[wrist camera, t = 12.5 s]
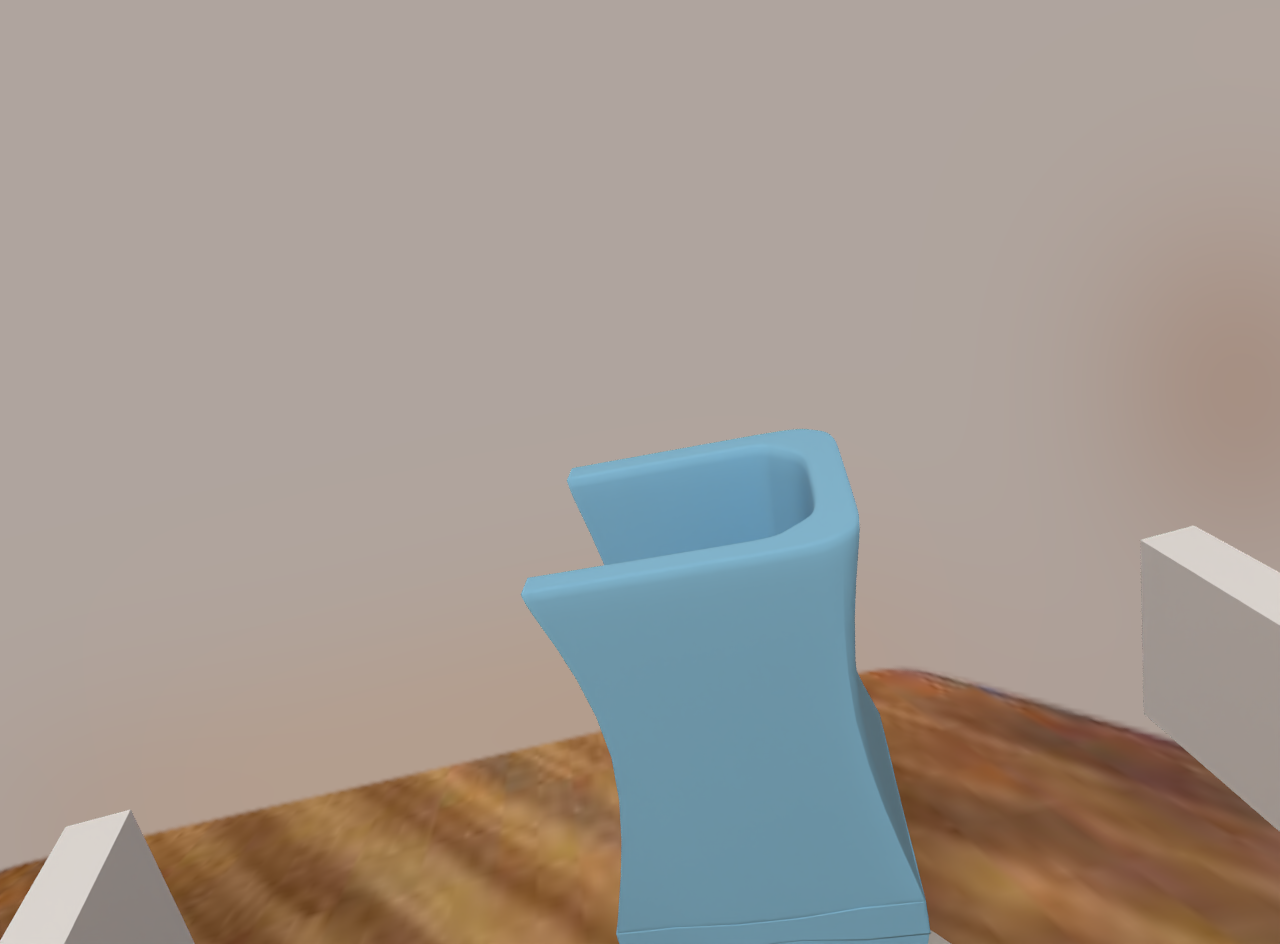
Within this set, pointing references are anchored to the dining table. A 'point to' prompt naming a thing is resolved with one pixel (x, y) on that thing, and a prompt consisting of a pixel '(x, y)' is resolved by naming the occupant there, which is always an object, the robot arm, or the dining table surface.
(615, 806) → the dining table surface
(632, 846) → the vase
